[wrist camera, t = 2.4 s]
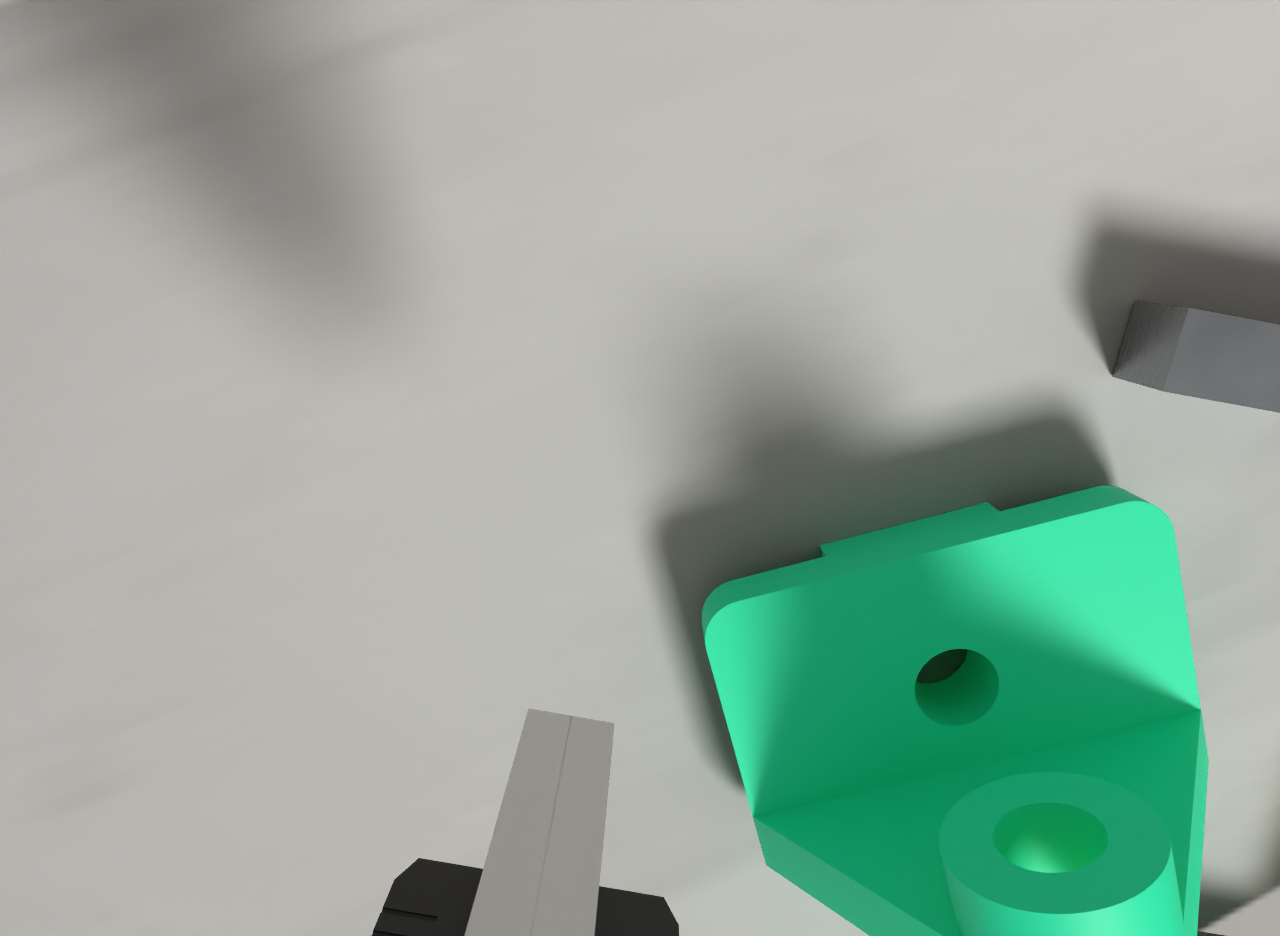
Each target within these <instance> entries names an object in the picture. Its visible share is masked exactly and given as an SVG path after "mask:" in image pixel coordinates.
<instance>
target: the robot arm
mask: <svg viewBox="0 0 1280 936" xmlns="http://www.w3.org/2000/svg"><path fill="white" fill-rule="evenodd" d="M613 732H614V723H609V722H603V721H597V720H592V719H586V718H580V717H574V716H569V715H563V714H557V713H551V712H546V711H540V710H534V709H528V713H527V716H526V720H525V723H524V727H523V730H522V734H521V737H520V741H519V744H518V748H517V752H516V755H515V759H514V762H513V766H512V769H511V773H510V776H509V780H508V783H507V787H506V790H505V794H504V798H503V801H502V805H501V808H500V812H499V815H498V819H497V822H496V826H495V829H494V833H493V836H492V840H491V843H490V847H489V851H488V854H487V858H486V861H485V865H484V868H483V869H480V868H474V867H468V866H462V865H456V864H451V863H445V862H439V861H433V860H427V859H421V858H419V859H417V860H416V861H415V862H414V863H413V864H412V865H411V866H410V867H408V868H407V869H406V870H405V871H404V872H403V873H402V874H400V875H399V876H398V877H397V878H396V879H395V880H394V882H393V885H392V887H391V889H390V892H389V894H388V897H387V899H386V901H385V904H384V906H383V910H382V913H380V916H379V918H378V920H377V923H376V925H375V928H374V930H373V934H372V936H679V925H678V923H677V921H676V919H675V917H674V916H673V914H672V912H671V910H670V908H669V906H668V904H667V903H666V901H665V899H664V897H659V896H653V895H648V894H642V893H636V892H630V891H624V890H618V889H612V888H606V887H601V886H599V881H600V870H601V860H602V849H603V839H604V828H605V817H606V807H607V796H608V785H609V775H610V764H611V754H612V743H613Z"/></svg>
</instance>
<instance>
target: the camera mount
mask: <svg viewBox="0 0 1280 936" xmlns="http://www.w3.org/2000/svg"><path fill="white" fill-rule="evenodd" d="M820 549H821V553H822V557H821V558H817V559H813V560H809V561H805V562H801V563H797V564H793V565H789V566H786V567H782V568H778V569H774V570H770V571H766V572H762V573H758V574H754V575H751V576H747V577H743V578H739V579H735V580H731V581H728V582H726V583H723V584H722V585H720V586H718V587H717V588H716V589H714V590H713V591H712V592H711V593H710V595H709V596H708V598H707V599H706V601H705V603H704V606H703V609H702V627H703V633H704V640H705V647H706V651H707V655H708V658H709V662H710V665H711V669H712V672H713V676H714V680H715V683H716V687H717V690H718V694H719V697H720V701H721V705H722V708H723V712H724V715H725V719H726V722H727V726H728V730H729V733H730V737H731V740H732V744H733V747H734V751H735V755H736V758H737V762H738V765H739V769H740V772H741V776H742V780H743V783H744V787H745V790H746V794H747V798H748V801H749V805H750V808H751V812H752V815H753V819H754V823H755V826H756V830H757V833H758V837H759V840H760V844H761V848H762V851H763V855H764V858H765V862H766V865H767V866H769V867H770V868H771V869H773V870H774V871H776V872H777V873H779V874H780V875H782V876H783V877H785V878H786V879H788V880H789V881H791V882H792V883H793V884H795V885H796V886H798V887H799V888H801V889H802V890H804V891H805V892H807V893H808V894H810V895H811V896H812V897H814V898H815V899H817V900H818V901H820V902H821V903H823V904H824V905H826V906H827V907H829V908H830V909H831V910H833V911H834V912H836V913H837V914H839V915H840V916H842V917H843V918H845V919H846V920H848V921H849V922H850V923H852V924H853V925H855V926H856V927H858V928H859V929H861V930H862V931H864V932H865V933H867V934H868V935H869V936H1197V930H1198V914H1199V899H1200V884H1201V868H1202V853H1203V838H1204V822H1205V807H1206V792H1207V776H1208V754H1207V747H1206V741H1205V734H1204V727H1203V721H1202V714H1201V707H1200V701H1199V694H1198V687H1197V681H1196V674H1195V667H1194V661H1193V654H1192V647H1191V640H1190V634H1189V627H1188V620H1187V614H1186V607H1185V600H1184V594H1183V587H1182V580H1181V574H1180V567H1179V560H1178V554H1177V547H1176V540H1175V534H1174V528H1173V525H1172V523H1171V521H1170V519H1169V517H1168V516H1167V515H1166V514H1165V513H1164V512H1163V511H1162V510H1161V509H1160V508H1158V507H1156V506H1155V505H1153V504H1151V503H1149V502H1147V501H1145V500H1143V499H1141V498H1139V497H1137V496H1135V495H1134V494H1132V493H1130V492H1128V491H1126V490H1124V489H1122V488H1119V487H1115V486H1097V487H1093V488H1089V489H1085V490H1081V491H1077V492H1073V493H1069V494H1066V495H1062V496H1058V497H1054V498H1050V499H1046V500H1042V501H1038V502H1034V503H1031V504H1027V505H1023V506H1019V507H1015V508H1011V509H1007V510H1003V511H999V510H997V509H996V508H995V507H993V506H992V505H991V504H989V503H988V502H986V503H982V504H978V505H974V506H970V507H966V508H962V509H959V510H955V511H951V512H947V513H943V514H939V515H935V516H931V517H928V518H924V519H920V520H916V521H912V522H908V523H904V524H900V525H897V526H893V527H889V528H885V529H881V530H877V531H873V532H869V533H866V534H862V535H858V536H854V537H850V538H846V539H842V540H838V541H835V542H831V543H827V544H823V545H820ZM953 649H967V654H966V657H965V660H964V662H963V664H962V665H961V666H960V668H959V669H958V670H957V671H956V672H955V673H954V674H953V675H951V676H950V677H948V678H946V679H944V680H942V681H939V682H935V683H918V682H916V679H917V676H918V674H919V672H920V671H921V669H922V668H923V666H924V665H925V664H926V663H927V662H928V661H929V660H930V659H932V658H933V657H934V656H936V655H938V654H940V653H942V652H945V651H948V650H953Z"/></svg>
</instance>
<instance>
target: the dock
mask: <svg viewBox="0 0 1280 936" xmlns="http://www.w3.org/2000/svg"><path fill="white" fill-rule="evenodd" d="M1112 377H1116V378H1119V379H1123V380H1126V381H1130V382H1133V383H1137V384H1140V385H1143V386H1147V387H1150V388H1154V389H1157V390H1161V391H1165V392H1170V393H1176V394H1181V395H1187V396H1192V397H1198V398H1203V399H1208V400H1214V401H1219V402H1225V403H1230V404H1236V405H1241V406H1247V407H1252V408H1257V409H1263V410H1268V411H1274V412H1279V413H1280V325H1279V324H1274V323H1269V322H1263V321H1258V320H1253V319H1247V318H1242V317H1237V316H1231V315H1226V314H1221V313H1215V312H1210V311H1205V310H1199V309H1194V308H1188V307H1180V306H1172V305H1164V304H1156V303H1147V302H1139V301H1135V302H1134V306H1133V309H1132V312H1131V316H1130V319H1129V322H1128V326H1127V329H1126V332H1125V336H1124V339H1123V342H1122V346H1121V349H1120V352H1119V356H1118V359H1117V362H1116V366H1115V369H1114V372H1113V376H1112ZM1197 936H1224V935H1217V934H1212V933H1205V932H1199V931H1197Z"/></svg>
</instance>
